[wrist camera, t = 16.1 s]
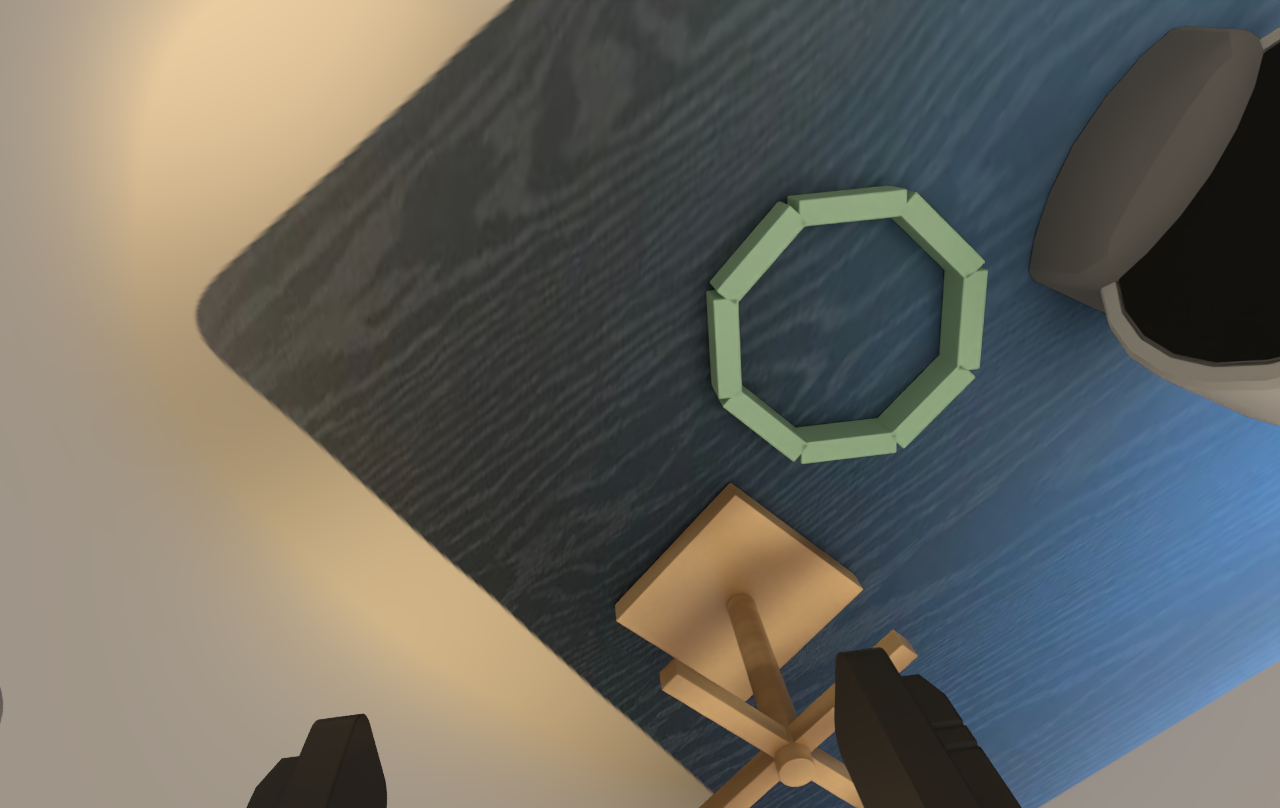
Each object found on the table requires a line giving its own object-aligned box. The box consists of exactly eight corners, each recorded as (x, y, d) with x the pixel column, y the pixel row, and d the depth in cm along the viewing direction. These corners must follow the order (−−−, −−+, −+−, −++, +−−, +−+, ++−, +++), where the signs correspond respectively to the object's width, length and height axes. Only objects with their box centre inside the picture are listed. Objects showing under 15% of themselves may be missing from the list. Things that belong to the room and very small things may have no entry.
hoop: (1015, 304, 37) (1039, 314, 35) (835, 487, 40) (848, 505, 39) (839, 129, 33) (854, 129, 32) (654, 345, 37) (659, 357, 35)
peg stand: (901, 568, 43) (1027, 741, 31) (741, 719, 46) (799, 928, 34) (727, 434, 39) (795, 575, 27) (565, 610, 42) (561, 805, 30)
